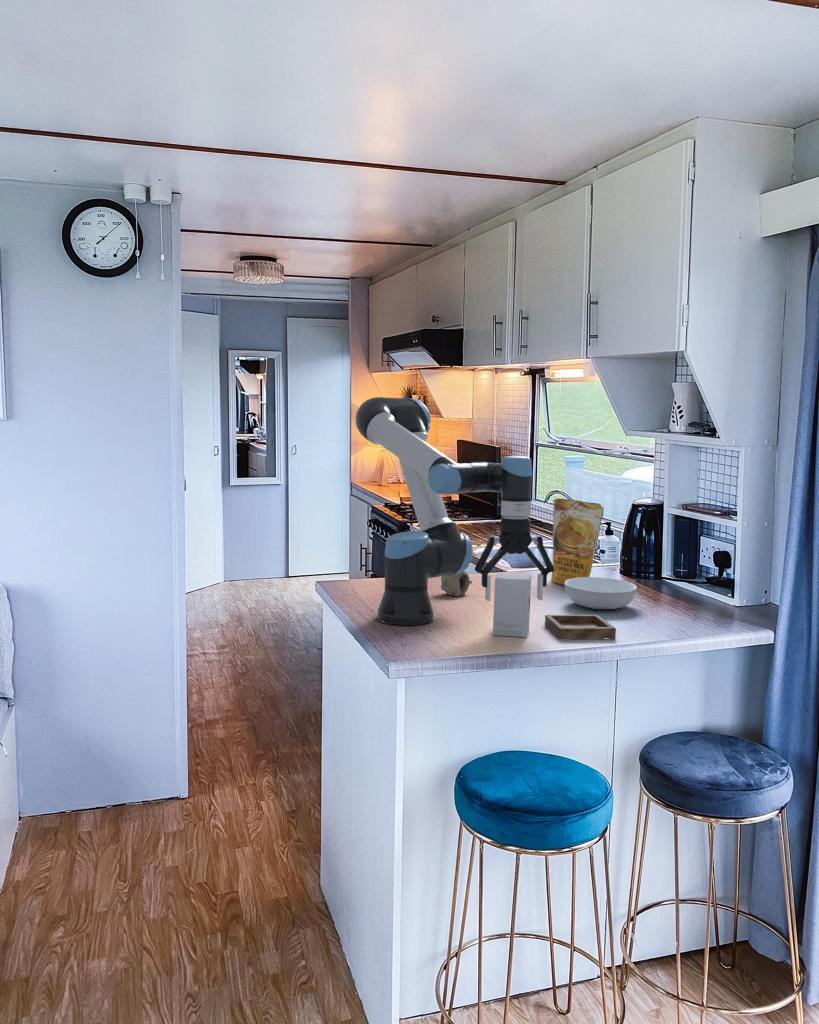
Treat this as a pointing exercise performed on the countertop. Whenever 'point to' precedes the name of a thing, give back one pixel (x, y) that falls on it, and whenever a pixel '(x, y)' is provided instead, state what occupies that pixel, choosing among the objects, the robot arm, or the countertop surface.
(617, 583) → the serving bowl
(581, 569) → the pancake mix bag
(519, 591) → the supplement box
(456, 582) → the greenish lumpy pot
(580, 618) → the brown wooden tray
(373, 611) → the countertop surface
